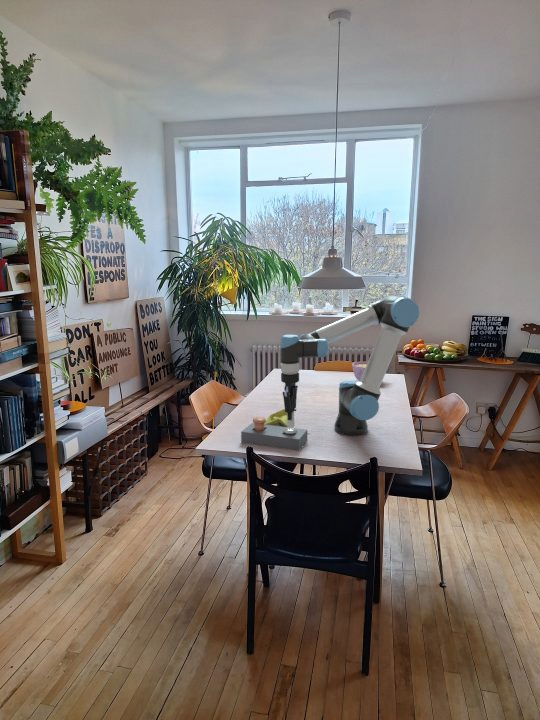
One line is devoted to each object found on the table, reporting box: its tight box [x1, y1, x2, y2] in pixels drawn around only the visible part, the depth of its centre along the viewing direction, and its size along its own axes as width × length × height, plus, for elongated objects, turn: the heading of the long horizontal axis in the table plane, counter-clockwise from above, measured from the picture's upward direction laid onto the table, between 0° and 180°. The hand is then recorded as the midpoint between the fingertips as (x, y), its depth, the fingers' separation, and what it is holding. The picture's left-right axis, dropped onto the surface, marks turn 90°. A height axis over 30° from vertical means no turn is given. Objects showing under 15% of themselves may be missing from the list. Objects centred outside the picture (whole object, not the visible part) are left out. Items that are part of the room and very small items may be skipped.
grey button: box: [283, 427, 296, 435], centre depth 197 cm, size 6×6×6 cm
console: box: [240, 422, 308, 452], centre depth 200 cm, size 26×12×5 cm, turn 69°
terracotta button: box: [252, 416, 267, 431], centre depth 201 cm, size 6×6×6 cm
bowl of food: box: [351, 361, 368, 381], centre depth 301 cm, size 20×20×12 cm
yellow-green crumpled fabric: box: [264, 408, 287, 427], centre depth 218 cm, size 20×7×10 cm
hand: (290, 426), depth 196 cm, fingers closed
